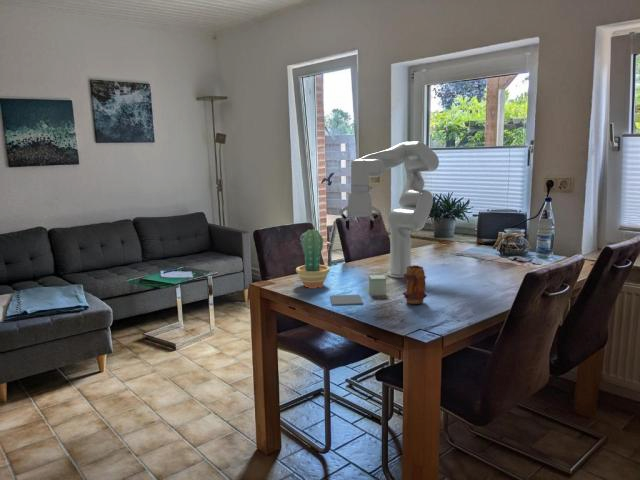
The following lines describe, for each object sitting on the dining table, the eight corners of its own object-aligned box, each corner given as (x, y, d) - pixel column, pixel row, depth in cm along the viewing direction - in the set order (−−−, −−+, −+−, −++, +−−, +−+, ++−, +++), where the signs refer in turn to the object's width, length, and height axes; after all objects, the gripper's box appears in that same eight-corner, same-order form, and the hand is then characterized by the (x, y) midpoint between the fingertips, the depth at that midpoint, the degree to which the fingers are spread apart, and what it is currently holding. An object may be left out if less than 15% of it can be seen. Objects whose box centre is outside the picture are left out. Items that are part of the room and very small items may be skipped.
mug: (401, 300, 198) (401, 262, 195) (421, 299, 198) (421, 261, 196) (411, 311, 183) (411, 271, 181) (432, 310, 184) (433, 270, 181)
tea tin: (383, 291, 211) (383, 274, 210) (386, 295, 205) (386, 278, 204) (368, 291, 211) (368, 275, 210) (371, 295, 205) (371, 278, 204)
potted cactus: (327, 280, 231) (326, 226, 227) (333, 288, 216) (332, 231, 212) (294, 282, 229) (292, 228, 225) (298, 291, 214) (296, 233, 210)
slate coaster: (359, 295, 205) (359, 294, 204) (363, 304, 193) (363, 303, 193) (330, 297, 204) (329, 295, 204) (332, 305, 192) (332, 304, 192)
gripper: (379, 188, 214) (378, 228, 216) (338, 189, 214) (338, 228, 216) (381, 189, 206) (381, 230, 209) (339, 190, 206) (339, 231, 209)
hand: (359, 229), depth 213 cm, fingers open, 9 cm apart
